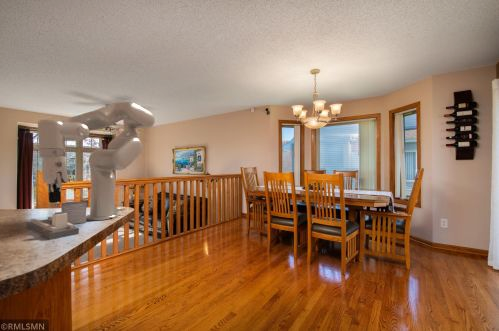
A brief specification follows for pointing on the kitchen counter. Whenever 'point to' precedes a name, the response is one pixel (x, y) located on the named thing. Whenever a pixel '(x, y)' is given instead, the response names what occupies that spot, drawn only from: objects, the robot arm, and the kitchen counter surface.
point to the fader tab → (59, 220)
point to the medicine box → (75, 212)
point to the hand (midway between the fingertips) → (55, 202)
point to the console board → (51, 228)
